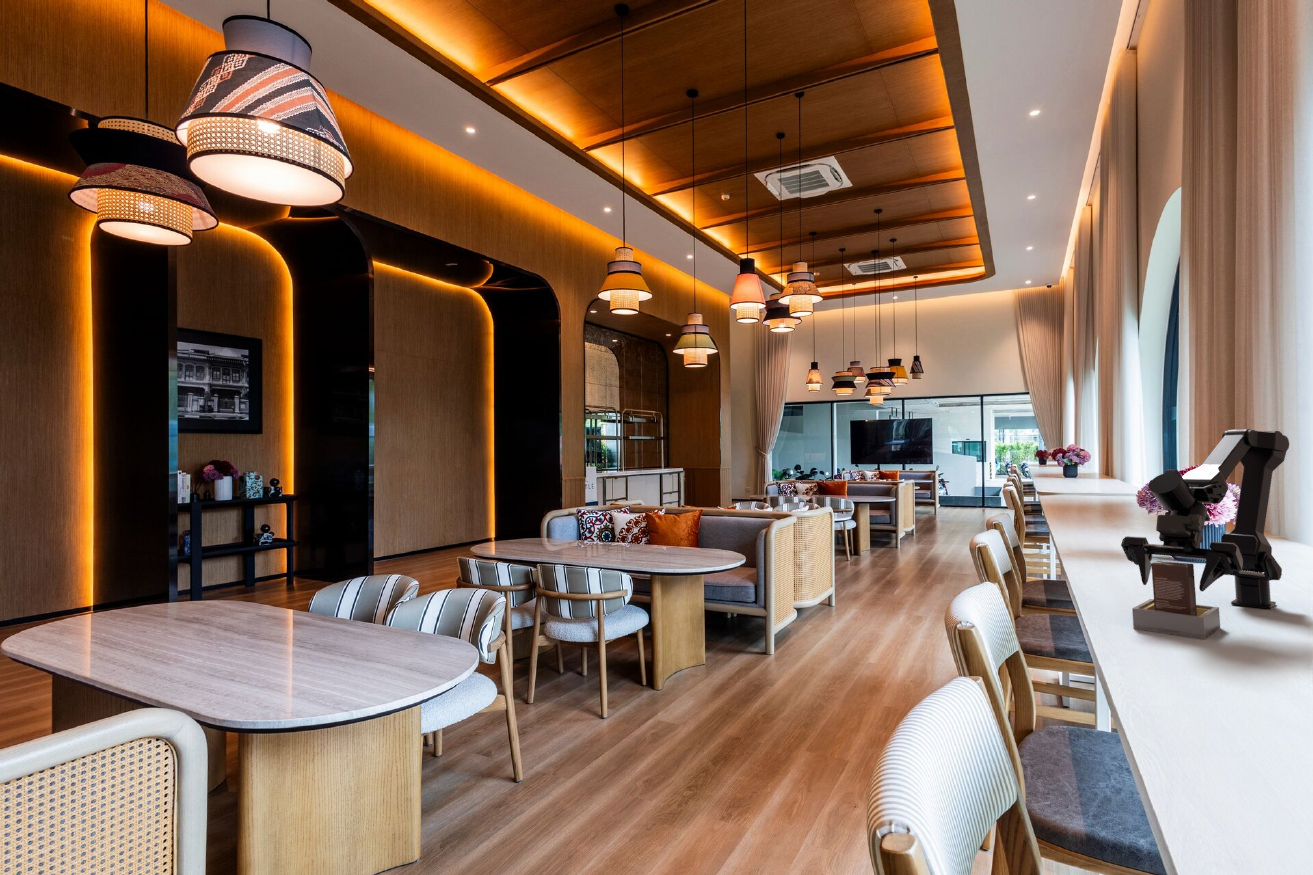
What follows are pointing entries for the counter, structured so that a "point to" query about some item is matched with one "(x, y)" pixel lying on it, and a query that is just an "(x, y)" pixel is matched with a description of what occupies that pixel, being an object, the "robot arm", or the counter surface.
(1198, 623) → the tray
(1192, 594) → the box
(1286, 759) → the counter surface
